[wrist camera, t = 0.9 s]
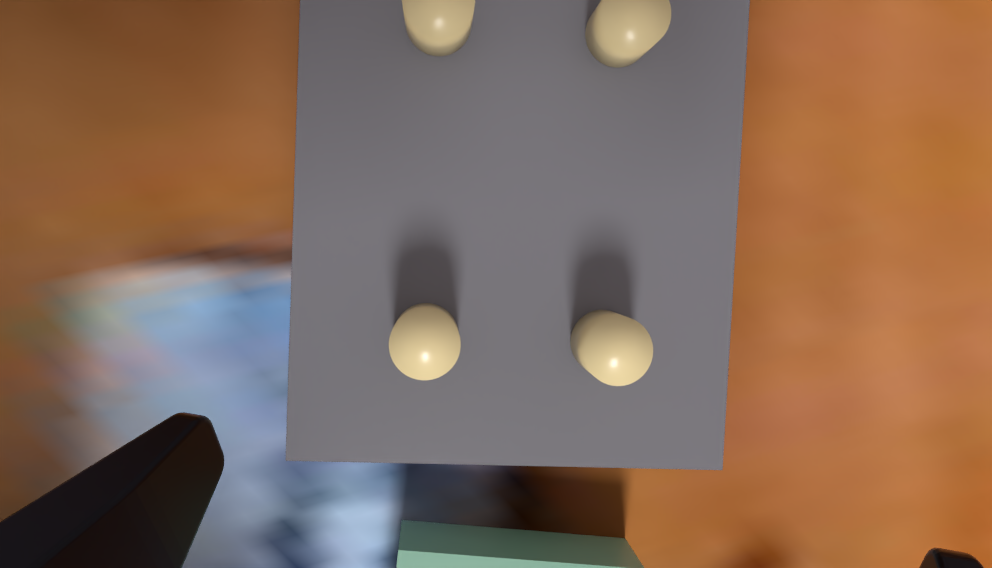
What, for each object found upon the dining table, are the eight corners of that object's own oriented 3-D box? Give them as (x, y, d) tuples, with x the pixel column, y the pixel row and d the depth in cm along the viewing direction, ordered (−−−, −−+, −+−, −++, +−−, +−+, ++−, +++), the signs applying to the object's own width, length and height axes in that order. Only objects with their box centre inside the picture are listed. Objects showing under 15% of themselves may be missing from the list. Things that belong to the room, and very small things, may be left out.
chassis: (708, 459, 21) (750, 492, 18) (293, 449, 20) (270, 482, 17) (739, -71, 20) (788, -122, 17) (310, -105, 19) (289, -164, 16)
